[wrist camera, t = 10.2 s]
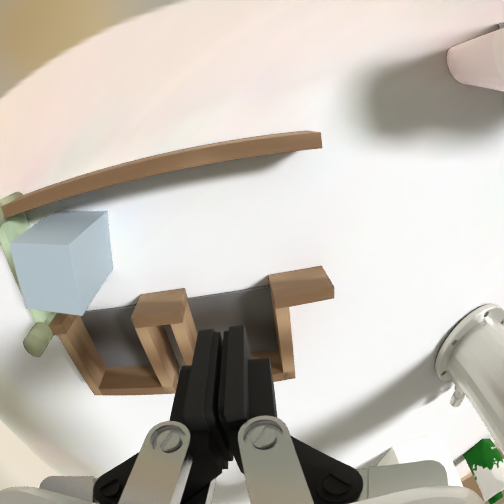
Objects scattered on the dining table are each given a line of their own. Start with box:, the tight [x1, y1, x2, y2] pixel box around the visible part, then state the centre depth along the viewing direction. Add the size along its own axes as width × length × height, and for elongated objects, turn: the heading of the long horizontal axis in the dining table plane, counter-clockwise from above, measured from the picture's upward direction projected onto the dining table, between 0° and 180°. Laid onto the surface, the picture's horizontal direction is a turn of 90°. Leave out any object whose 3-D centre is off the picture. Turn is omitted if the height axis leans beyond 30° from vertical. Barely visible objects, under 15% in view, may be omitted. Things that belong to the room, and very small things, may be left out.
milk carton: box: [464, 439, 504, 504], centre depth 44 cm, size 9×9×20 cm
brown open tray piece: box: [0, 131, 334, 395], centre depth 22 cm, size 20×26×6 cm
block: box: [10, 211, 113, 316], centre depth 20 cm, size 5×5×7 cm
